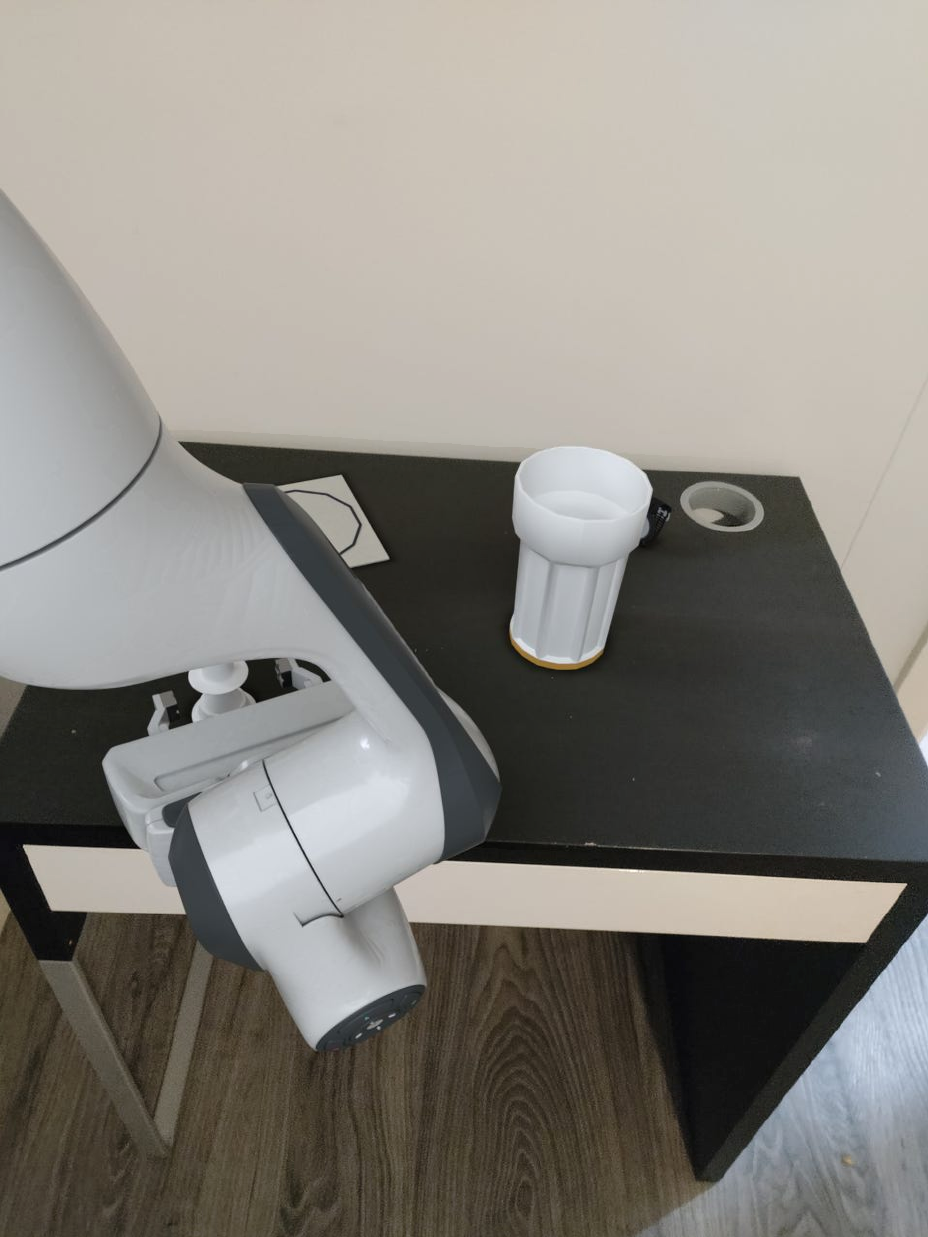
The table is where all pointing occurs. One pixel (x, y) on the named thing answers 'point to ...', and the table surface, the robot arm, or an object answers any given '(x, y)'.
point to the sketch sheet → (339, 518)
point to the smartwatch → (651, 523)
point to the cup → (573, 550)
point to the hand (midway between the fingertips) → (224, 680)
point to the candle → (219, 689)
